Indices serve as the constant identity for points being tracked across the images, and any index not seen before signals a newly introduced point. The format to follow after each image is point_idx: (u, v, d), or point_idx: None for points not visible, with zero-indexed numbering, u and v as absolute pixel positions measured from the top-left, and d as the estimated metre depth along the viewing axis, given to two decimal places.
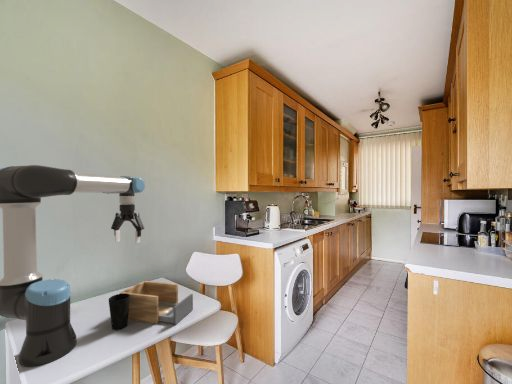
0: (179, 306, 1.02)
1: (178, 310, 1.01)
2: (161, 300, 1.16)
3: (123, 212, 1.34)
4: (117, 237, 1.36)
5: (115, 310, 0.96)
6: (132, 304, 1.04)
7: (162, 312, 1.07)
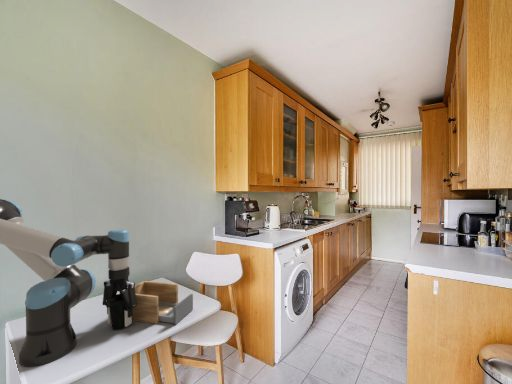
0: (179, 306, 1.02)
1: (178, 310, 1.01)
2: (161, 300, 1.16)
3: (114, 279, 0.99)
4: None
5: (115, 310, 0.96)
6: None
7: (162, 312, 1.07)
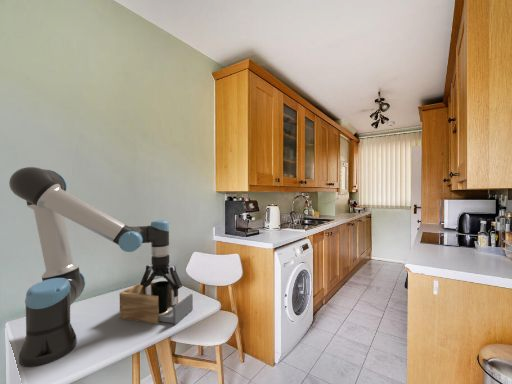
0: (179, 306, 1.02)
1: (178, 310, 1.01)
2: None
3: (156, 265, 1.08)
4: None
5: (158, 295, 1.05)
6: (132, 304, 1.04)
7: None
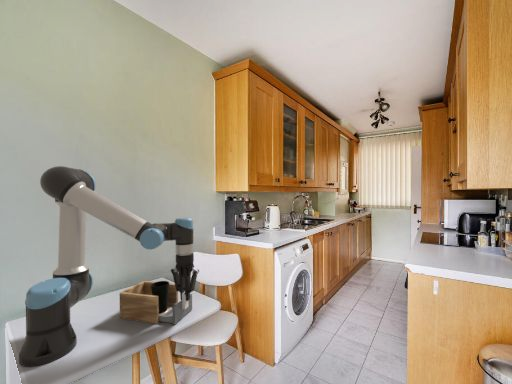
0: (178, 306, 1.02)
1: (177, 310, 1.01)
2: None
3: (180, 264, 1.05)
4: None
5: (157, 295, 1.06)
6: (132, 304, 1.04)
7: None
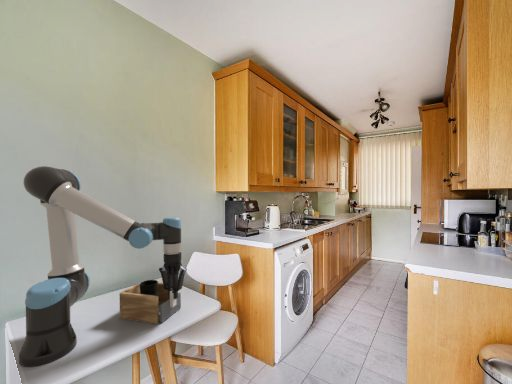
0: (166, 304, 1.04)
1: (164, 308, 1.03)
2: (161, 300, 1.16)
3: (168, 263, 1.07)
4: None
5: (146, 294, 1.07)
6: (132, 304, 1.04)
7: None
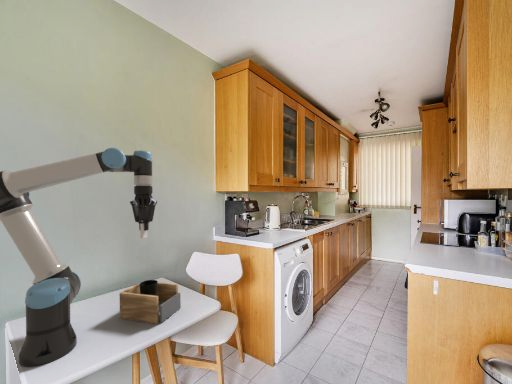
0: (166, 304, 1.04)
1: (164, 308, 1.03)
2: (161, 300, 1.16)
3: (138, 195, 1.09)
4: None
5: (145, 294, 1.07)
6: (132, 304, 1.04)
7: None
